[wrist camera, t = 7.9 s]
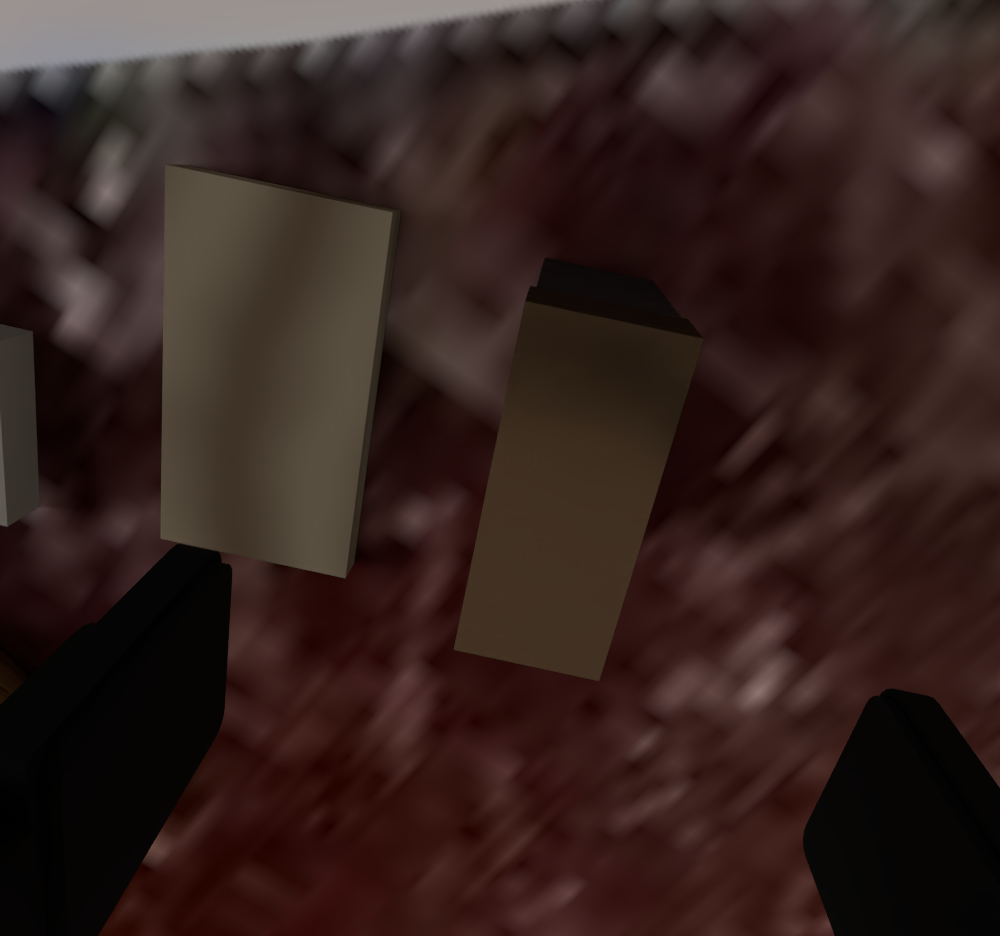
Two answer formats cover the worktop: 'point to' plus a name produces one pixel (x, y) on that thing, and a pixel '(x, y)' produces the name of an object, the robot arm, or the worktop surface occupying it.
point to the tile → (17, 426)
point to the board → (270, 365)
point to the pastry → (9, 676)
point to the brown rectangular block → (575, 467)
